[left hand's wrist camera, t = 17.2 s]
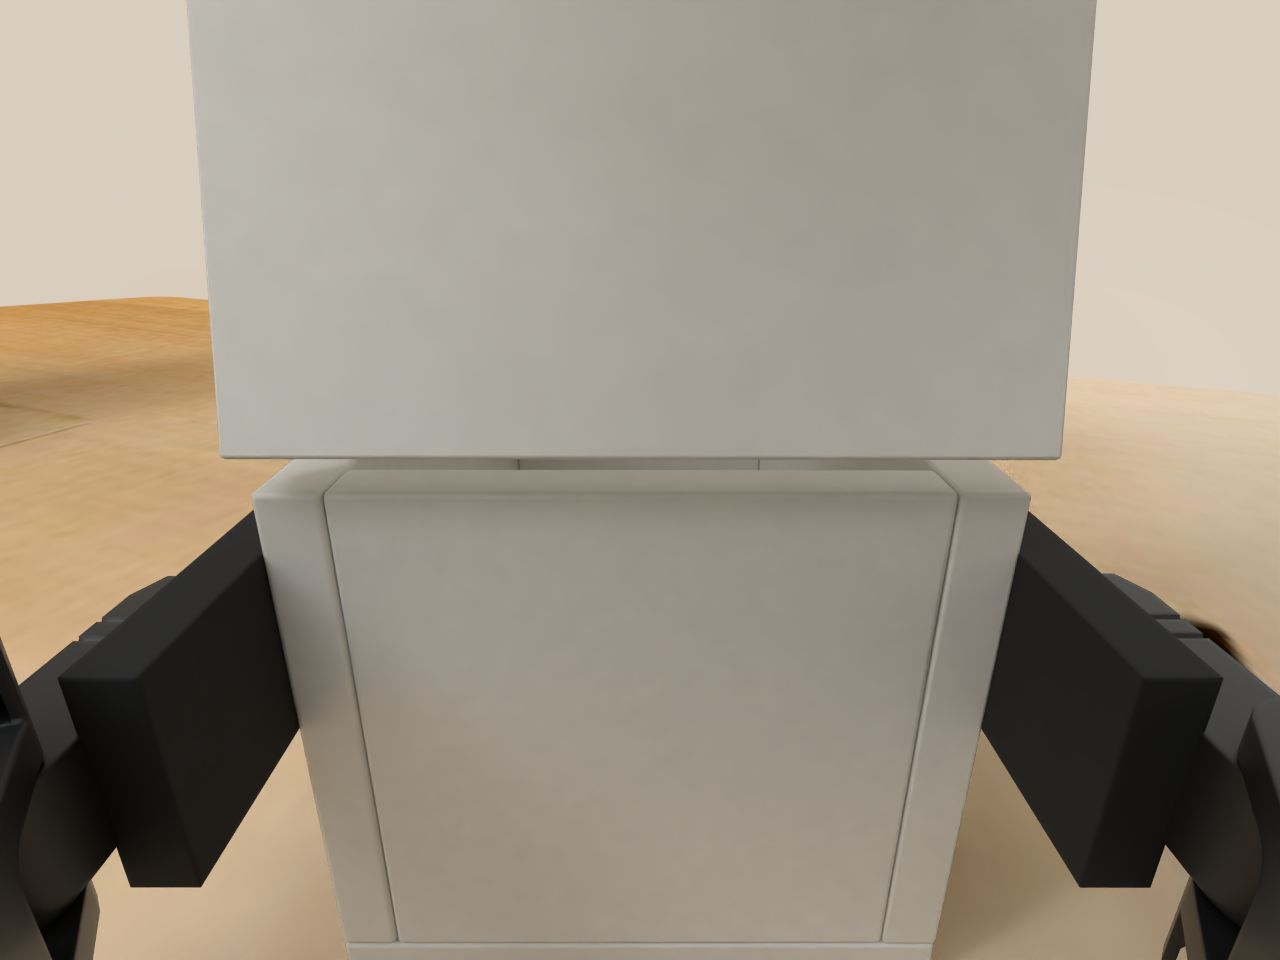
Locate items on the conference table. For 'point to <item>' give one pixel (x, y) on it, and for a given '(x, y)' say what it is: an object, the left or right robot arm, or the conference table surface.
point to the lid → (641, 226)
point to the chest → (640, 698)
